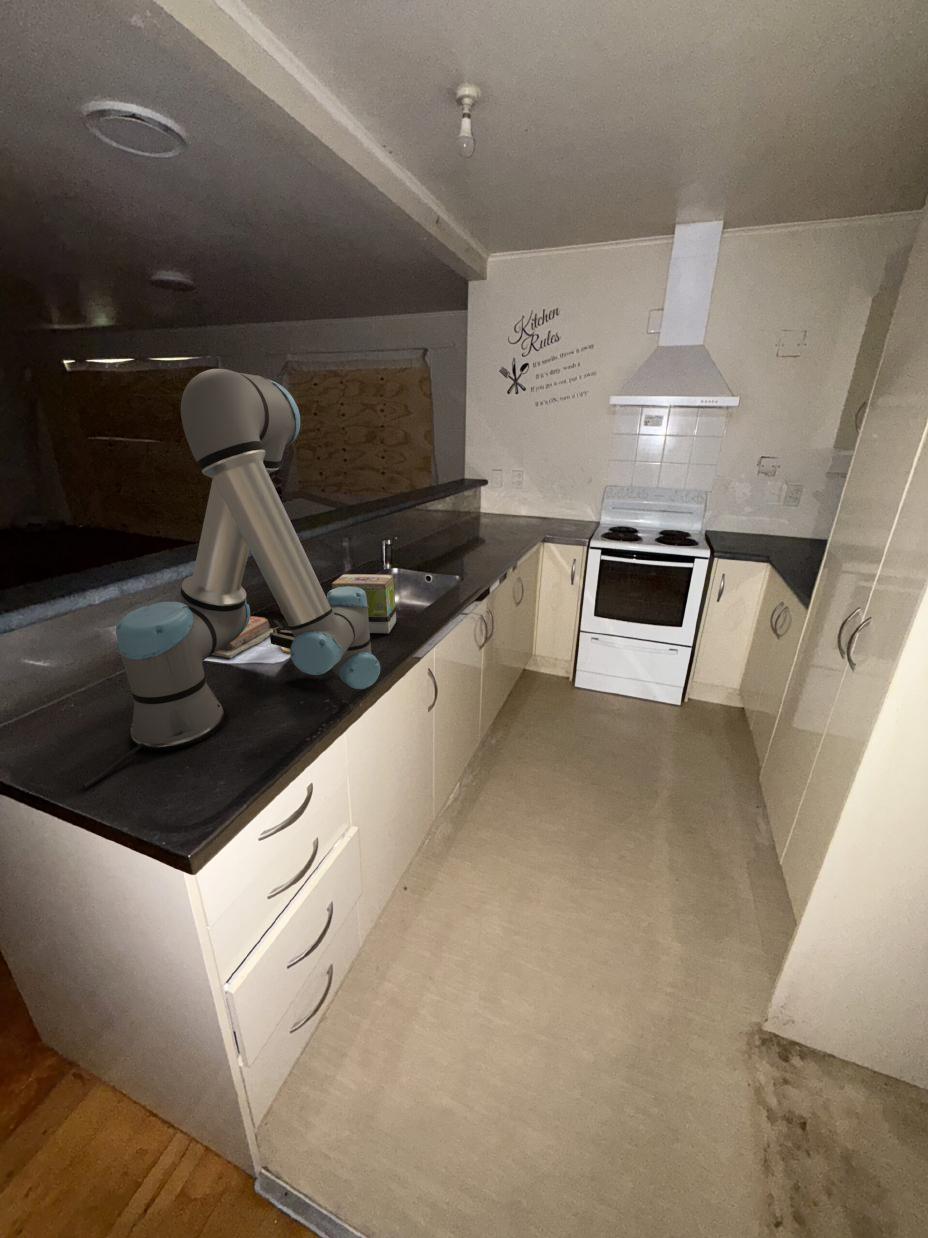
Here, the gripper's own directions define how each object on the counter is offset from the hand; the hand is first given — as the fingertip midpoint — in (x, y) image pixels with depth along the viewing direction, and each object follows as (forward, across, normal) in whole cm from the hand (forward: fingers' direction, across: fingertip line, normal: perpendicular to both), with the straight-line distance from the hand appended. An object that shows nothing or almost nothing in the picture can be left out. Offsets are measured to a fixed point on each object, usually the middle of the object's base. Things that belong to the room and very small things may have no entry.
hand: (303, 619), depth 121 cm
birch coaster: (+4, 0, -9) cm, 10 cm away
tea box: (+6, +20, -9) cm, 22 cm away
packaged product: (+15, -13, -9) cm, 22 cm away
